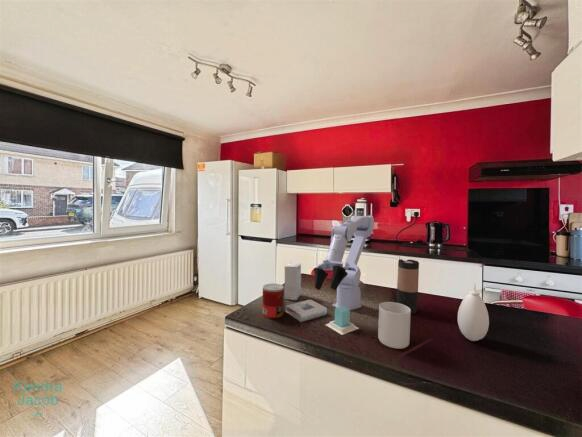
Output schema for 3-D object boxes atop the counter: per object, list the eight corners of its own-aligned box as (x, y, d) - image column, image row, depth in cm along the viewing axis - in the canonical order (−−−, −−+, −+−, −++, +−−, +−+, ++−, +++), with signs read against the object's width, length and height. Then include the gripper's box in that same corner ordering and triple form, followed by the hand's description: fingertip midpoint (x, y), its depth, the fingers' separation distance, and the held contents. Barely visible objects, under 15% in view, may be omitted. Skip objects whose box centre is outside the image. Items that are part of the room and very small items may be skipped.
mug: (411, 353, 72) (413, 315, 71) (378, 348, 74) (379, 311, 73) (405, 333, 83) (406, 300, 82) (376, 329, 86) (377, 297, 85)
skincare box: (297, 300, 110) (297, 267, 109) (283, 299, 111) (284, 266, 110) (301, 294, 118) (301, 262, 117) (288, 293, 119) (289, 261, 118)
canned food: (280, 320, 90) (281, 290, 90) (259, 318, 92) (259, 288, 91) (285, 312, 98) (286, 284, 97) (265, 310, 100) (266, 282, 99)
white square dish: (341, 320, 91) (342, 316, 91) (358, 330, 85) (359, 325, 85) (325, 326, 87) (325, 321, 87) (341, 336, 80) (341, 331, 80)
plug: (341, 323, 88) (342, 306, 88) (349, 327, 85) (349, 309, 85) (334, 325, 86) (334, 308, 86) (341, 329, 83) (342, 312, 83)
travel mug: (412, 316, 96) (414, 264, 95) (392, 309, 102) (394, 260, 101) (420, 310, 101) (422, 261, 100) (401, 304, 107) (403, 258, 106)
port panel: (310, 306, 104) (310, 299, 103) (326, 315, 95) (326, 307, 95) (285, 313, 97) (285, 305, 97) (300, 323, 89) (300, 315, 88)
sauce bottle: (451, 332, 84) (454, 279, 83) (475, 333, 84) (478, 280, 83) (467, 345, 76) (470, 287, 75) (493, 346, 76) (497, 287, 75)
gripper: (314, 250, 96) (302, 283, 90) (343, 246, 85) (332, 283, 78) (327, 259, 99) (316, 292, 92) (356, 256, 88) (346, 293, 81)
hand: (324, 288), depth 86 cm, fingers open, 7 cm apart
